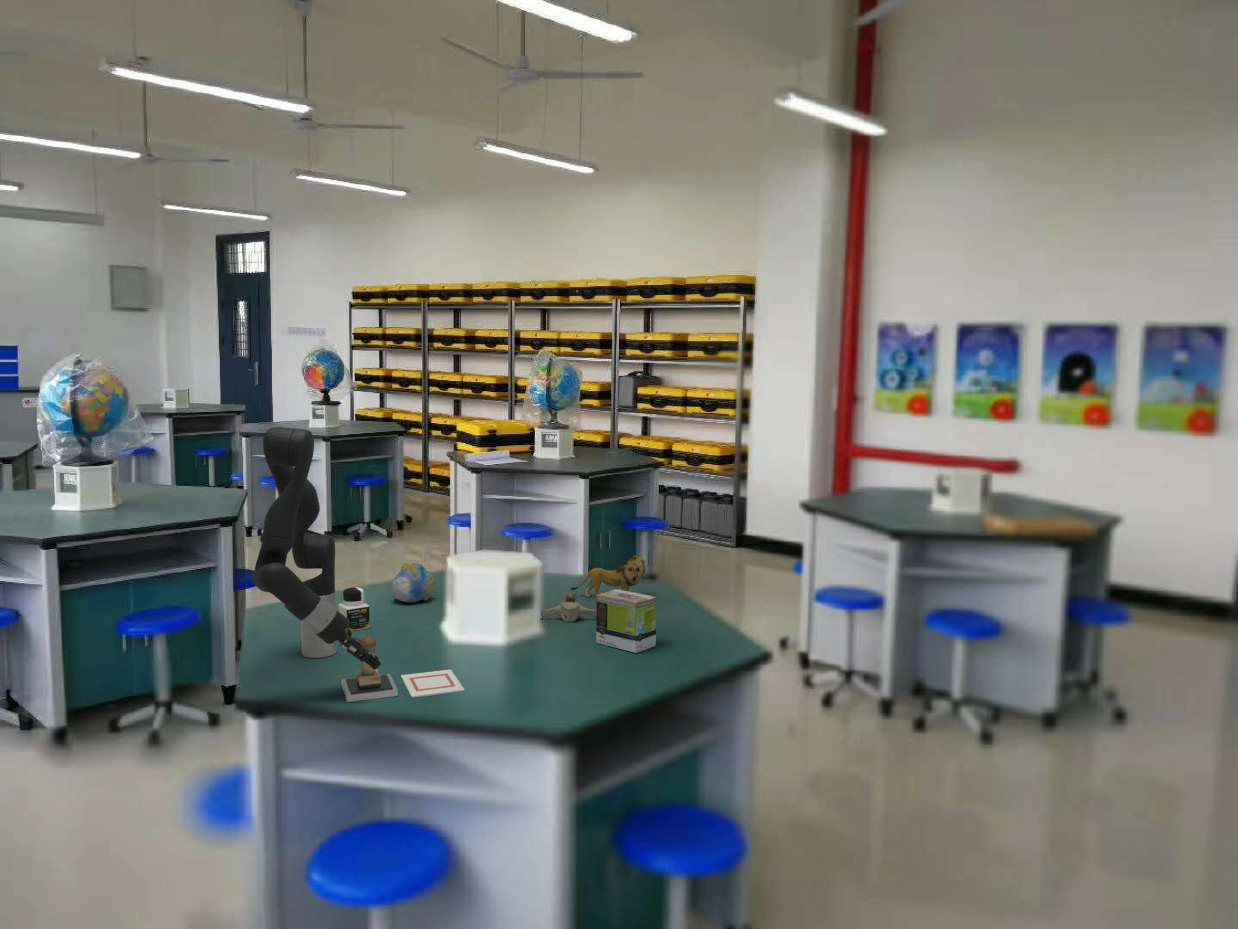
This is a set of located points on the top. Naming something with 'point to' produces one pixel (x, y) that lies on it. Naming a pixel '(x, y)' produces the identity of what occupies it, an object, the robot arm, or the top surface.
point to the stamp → (368, 666)
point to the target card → (432, 683)
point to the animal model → (616, 576)
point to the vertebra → (569, 609)
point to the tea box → (626, 620)
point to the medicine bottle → (355, 609)
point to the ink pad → (369, 689)
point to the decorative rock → (413, 583)
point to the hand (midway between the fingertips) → (376, 663)
